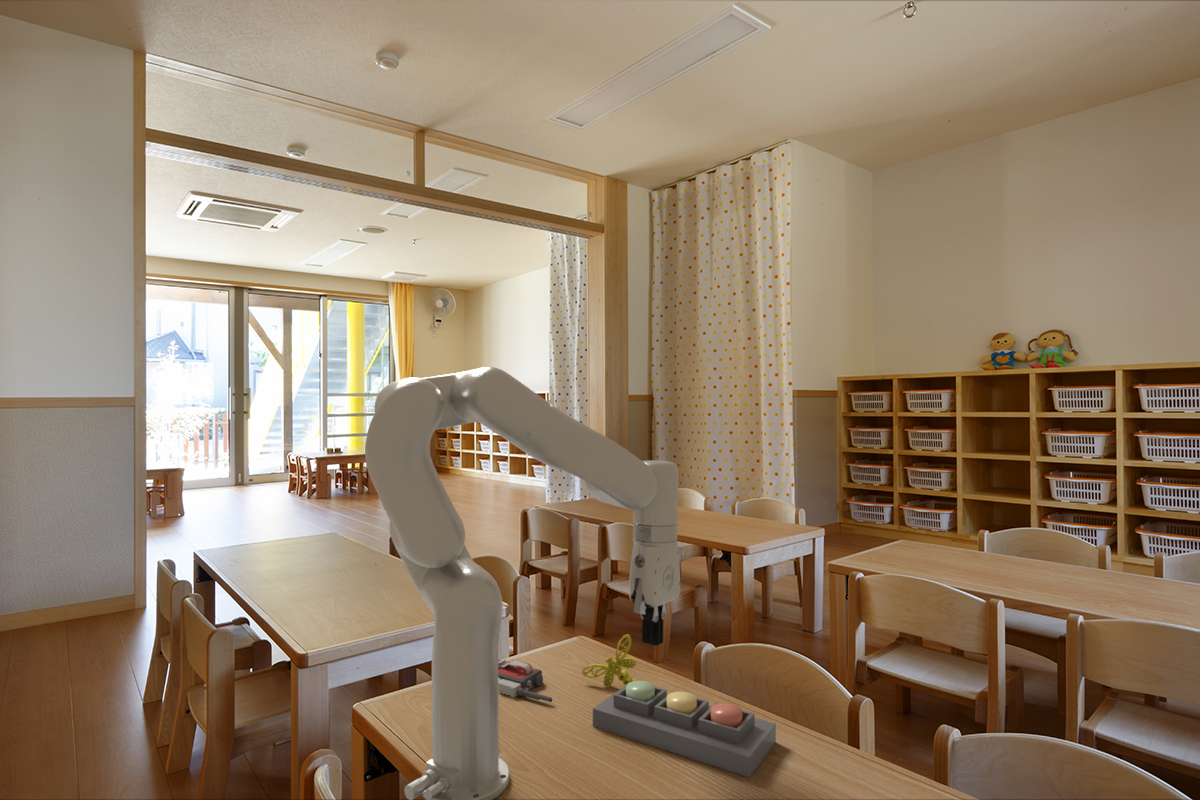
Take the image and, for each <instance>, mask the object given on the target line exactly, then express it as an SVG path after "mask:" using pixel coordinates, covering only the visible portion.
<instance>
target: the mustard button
mask: <svg viewBox="0 0 1200 800" xmlns="http://www.w3.org/2000/svg"><path fill="white" fill-rule="evenodd" d="M672 692H673V693H672ZM672 692H670V693H667V694H668V695H667V709H671V710H674V711H678V712H681V713H685V714H688V715H690V714H691V713H692V712H693V711H694V710H695V709H697V698H698V697H696V695H695V694H693V693H690V692H688V691H687V692H686V691H672Z"/></svg>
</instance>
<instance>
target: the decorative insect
mask: <svg viewBox="0 0 1200 800" xmlns="http://www.w3.org/2000/svg"><path fill="white" fill-rule="evenodd" d="M624 639H625V641H623V640H624ZM622 641H623V642H622ZM626 643H628V644H627V646H626V645H625V644H626ZM631 646H632V637H631V635H630V634H628V633H627V634H623V635H622V637H621V638H620V639H619V640H618V643H617V646H616V649H615V659H613V657H612V656H608V657H607V658H605V663H607V665H605V664H601V663H593V664H589V665H586V666H585V667H584V668H583V669H582V672H581V673H582V675H583V676H584V677H586V678H590V679H592V678H598V677H600V676H602V675H604V677H603V680H602V683H603V686H605V687H607V688H610V686H612V685H613V683H614V679H615V676H617V679H618V681H620V682H622V683H623V685H624V686H626V685H627V684H628V683H630V682H633V681H637V679H634V678H633V676H631V675H629V672H628V670H627V669H634V668H635V667H636V665H637V660H636V659H635V658H634V657H627V654H628V652H629V651H630V650H631ZM620 647H623V649H621V650H620ZM619 650H620V651H619ZM623 652H624V653H623ZM622 653H623V655H621V654H622ZM594 668H599V669H597V670H595V673H594ZM622 668H626V669H622ZM588 669H589V670H588ZM586 670H588V671H586ZM585 671H586V672H585ZM600 671H602V672H600ZM598 672H600V673H598ZM589 673H591V674H589Z"/></svg>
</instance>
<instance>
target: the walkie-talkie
mask: <svg viewBox="0 0 1200 800" xmlns="http://www.w3.org/2000/svg"><path fill="white" fill-rule="evenodd" d="M542 673H543V671H542V669H538V668H534V667H532V665H531V664H530V663H529V662H523V661H519V660H516V659H515V660H512V661H507V660H506V659H505V658H503V659H498V691H499V692H500V693H499V692H498V693H499V694H501V693H504V694H506V695H505V696H508V695H510V696H509V697H511V698H513V697H515V698H517V697H518V695H519V696H520V697H525V698H530V699H533V700H537V701H539V700H541V701H546V702H549V703H552V702H553V698H552V697H551V696H548V695H544V694H540V693H538V692H533V691H531V690H532V689H534V688H535V687H540V686H541V685H542V684H543V682H544V677H543V674H542ZM536 685H537V686H536ZM533 687H534V688H533ZM531 688H532V689H531ZM504 694H503V695H504ZM516 696H517V697H516Z"/></svg>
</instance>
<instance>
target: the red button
mask: <svg viewBox="0 0 1200 800" xmlns="http://www.w3.org/2000/svg"><path fill="white" fill-rule="evenodd" d="M714 704H715V703H714ZM714 704H712V705H711V706H712V707H711V721H712V722H716V723H719V724H723V725H726V726H730V727H733V728H737V727H738V726H739V725H740V724H741V723H742V722H743V719H742V710H743V709H742V708H741V707H739V706H738V705H736V704H732V703H726V702H725V703H724V702H722V703H721V702H719V703H718V704H715V705H714Z"/></svg>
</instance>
